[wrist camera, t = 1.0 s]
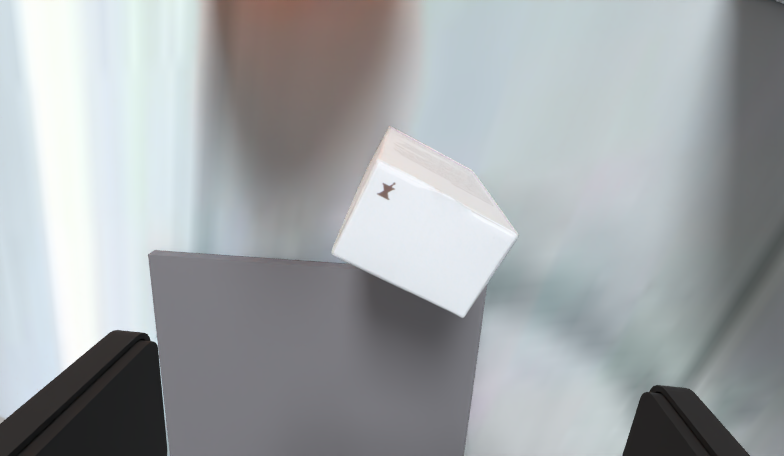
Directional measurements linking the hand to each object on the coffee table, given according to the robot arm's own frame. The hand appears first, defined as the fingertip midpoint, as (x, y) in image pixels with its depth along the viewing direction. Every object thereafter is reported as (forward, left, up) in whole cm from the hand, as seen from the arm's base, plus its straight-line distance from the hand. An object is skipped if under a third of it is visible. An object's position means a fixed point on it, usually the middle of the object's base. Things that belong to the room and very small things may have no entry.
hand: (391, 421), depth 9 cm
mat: (+5, +14, -21) cm, 26 cm away
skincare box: (-1, -1, -21) cm, 21 cm away
